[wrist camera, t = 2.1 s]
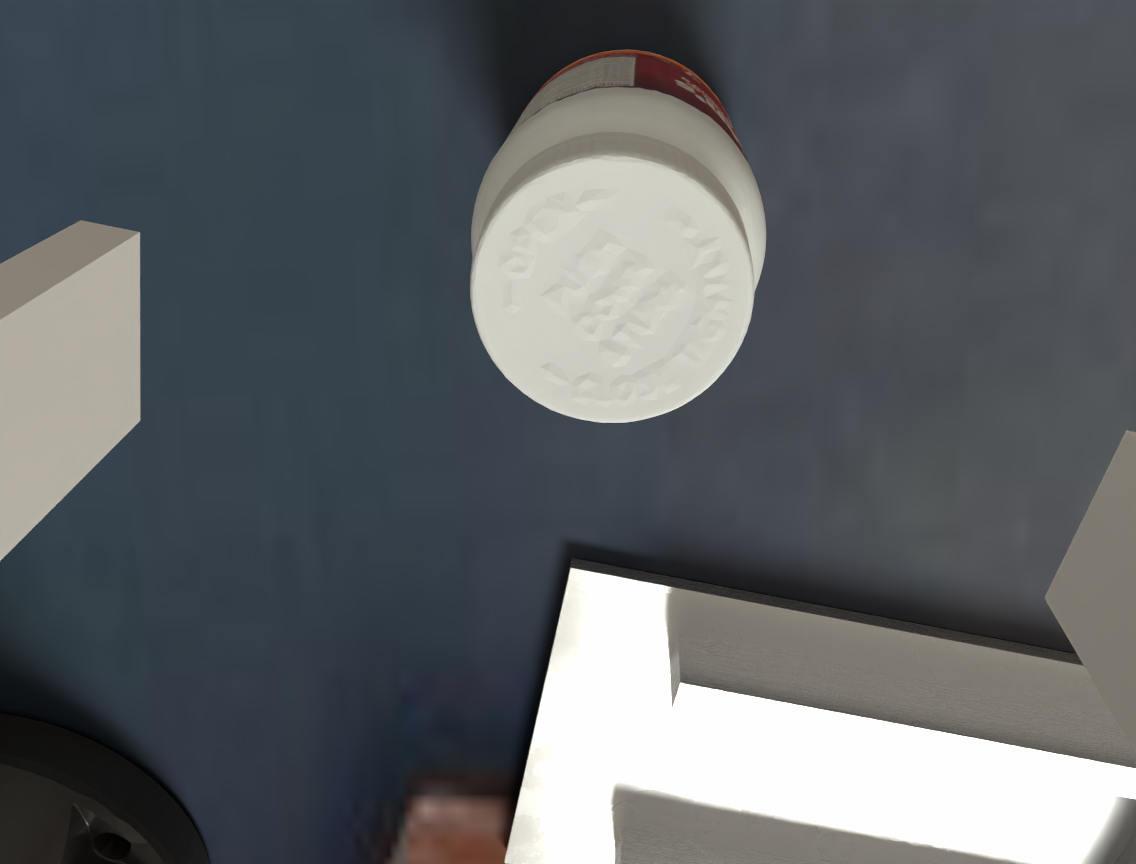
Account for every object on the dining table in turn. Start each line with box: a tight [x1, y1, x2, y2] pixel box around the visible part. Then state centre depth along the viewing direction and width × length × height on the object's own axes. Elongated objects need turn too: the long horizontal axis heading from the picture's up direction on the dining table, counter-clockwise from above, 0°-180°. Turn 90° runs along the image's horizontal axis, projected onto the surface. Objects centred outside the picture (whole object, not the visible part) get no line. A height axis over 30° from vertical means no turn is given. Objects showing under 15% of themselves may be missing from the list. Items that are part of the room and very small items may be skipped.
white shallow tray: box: [504, 558, 1136, 864], centre depth 36 cm, size 24×14×3 cm, turn 80°
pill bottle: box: [470, 49, 766, 423], centre depth 23 cm, size 6×6×11 cm
